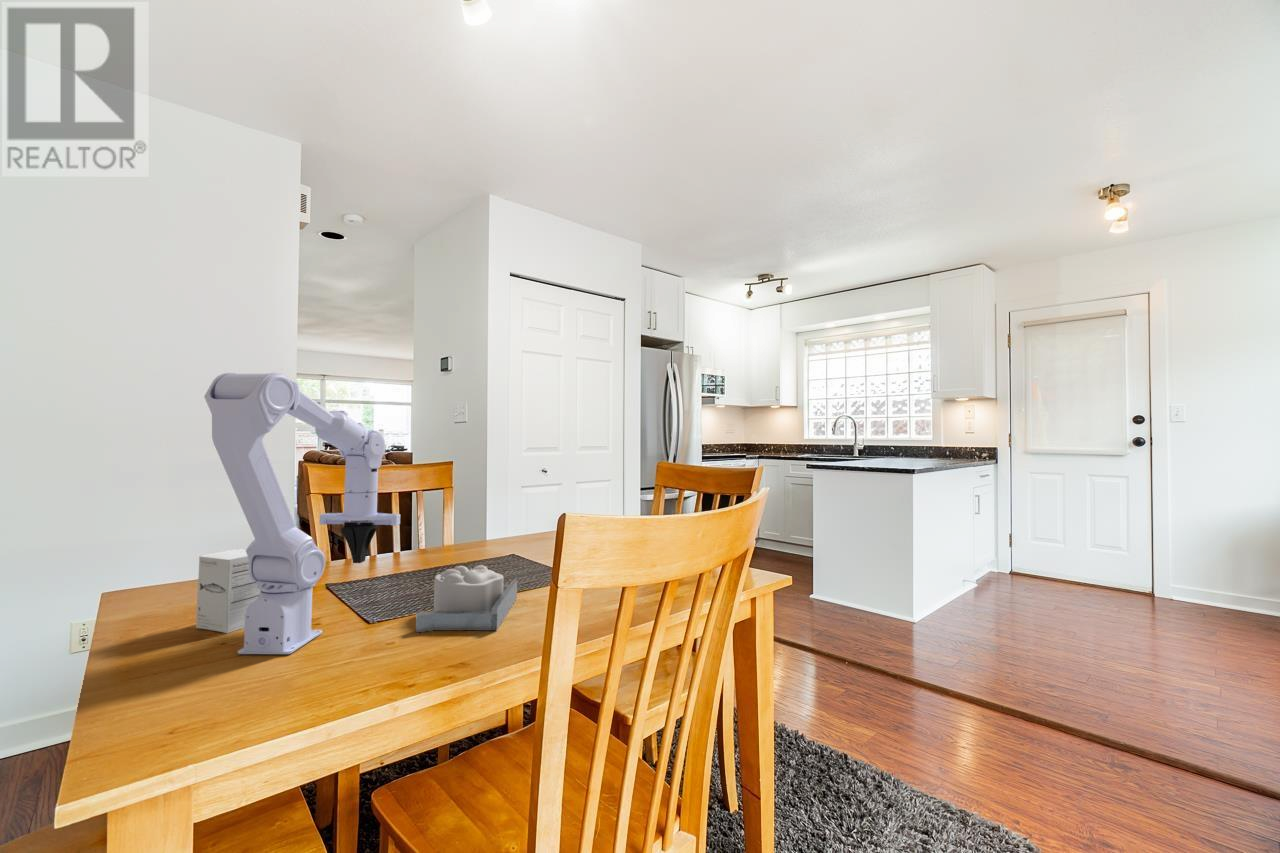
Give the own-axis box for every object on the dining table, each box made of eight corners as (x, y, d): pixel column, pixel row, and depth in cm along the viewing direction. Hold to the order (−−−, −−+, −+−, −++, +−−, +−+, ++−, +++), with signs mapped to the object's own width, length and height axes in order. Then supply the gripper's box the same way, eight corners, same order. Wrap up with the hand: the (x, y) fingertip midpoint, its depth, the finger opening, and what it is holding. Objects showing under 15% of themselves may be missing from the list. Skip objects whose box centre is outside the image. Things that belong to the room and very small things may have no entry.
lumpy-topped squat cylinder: (473, 628, 96) (475, 579, 97) (418, 617, 101) (420, 571, 102) (509, 611, 106) (510, 567, 106) (457, 602, 111) (458, 560, 111)
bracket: (495, 633, 94) (495, 610, 94) (412, 633, 93) (413, 609, 93) (517, 597, 115) (518, 578, 115) (451, 596, 114) (451, 577, 114)
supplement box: (194, 629, 93) (197, 555, 93) (237, 616, 100) (240, 547, 100) (225, 634, 91) (228, 559, 91) (267, 620, 98) (270, 550, 98)
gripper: (407, 490, 109) (405, 557, 109) (333, 489, 108) (331, 557, 108) (392, 493, 102) (390, 566, 101) (314, 492, 101) (311, 565, 101)
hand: (358, 562), depth 104 cm, fingers closed
